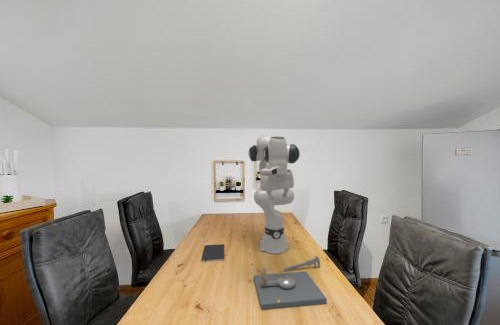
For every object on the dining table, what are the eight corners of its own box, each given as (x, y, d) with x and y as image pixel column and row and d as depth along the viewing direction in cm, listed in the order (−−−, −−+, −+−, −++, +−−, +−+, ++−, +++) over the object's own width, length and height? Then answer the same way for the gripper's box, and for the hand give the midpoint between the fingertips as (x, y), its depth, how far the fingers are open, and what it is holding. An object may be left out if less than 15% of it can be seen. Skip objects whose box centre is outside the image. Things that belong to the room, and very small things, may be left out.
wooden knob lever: (292, 278, 100) (291, 263, 100) (298, 288, 92) (297, 272, 92) (259, 280, 98) (259, 265, 98) (262, 291, 90) (262, 274, 90)
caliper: (319, 266, 116) (319, 255, 115) (320, 267, 114) (320, 256, 114) (282, 270, 112) (282, 258, 112) (283, 272, 111) (282, 259, 111)
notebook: (224, 261, 123) (224, 246, 144) (224, 258, 123) (224, 244, 144) (201, 262, 122) (204, 247, 143) (201, 260, 122) (204, 245, 143)
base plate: (253, 279, 103) (253, 274, 103) (306, 275, 107) (306, 271, 107) (261, 310, 82) (261, 304, 82) (326, 303, 86) (326, 298, 86)
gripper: (287, 169, 114) (287, 195, 114) (257, 170, 101) (258, 200, 101) (296, 169, 109) (297, 197, 109) (267, 171, 96) (267, 202, 96)
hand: (278, 198), depth 105 cm, fingers open, 8 cm apart
